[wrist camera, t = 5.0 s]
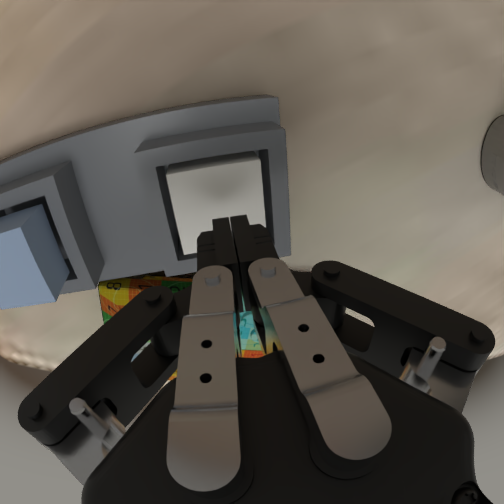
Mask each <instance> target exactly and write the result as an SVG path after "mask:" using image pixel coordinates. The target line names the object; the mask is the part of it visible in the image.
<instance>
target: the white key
mask: <svg viewBox="0 0 504 504" xmlns="http://www.w3.org/2000/svg"><path fill="white" fill-rule="evenodd" d="M166 177H167V182H168V187H169V192H170V196H171V201H172V205H173V210H174V214H175V219H176V223H177V227H178V232H179V236H180V240H181V244H182V248H183V252H184V255H186V254H192V253H197V238H198V236H199V235H200V233H201V232H205V231H212V230H213V224H212V219H217V218H224V217H229V222H230V217H231V216H238V215H245V214H246V215H247V218H248V221H249V224H250V225H254V224H261V225H263V226H264V227H265V228H266V221H265V209H264V196H263V184H262V173H261V161H260V159H259V157H258V156H257V155H256V153H255V152H254V151H247V152H239V153H232V154H225V155H219V156H213V157H206V158H200V159H195V160H189V161H183V162H178V163H173V164H169V166H168V170H167V173H166ZM230 227H231V224H230Z"/></svg>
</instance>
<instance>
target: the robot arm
mask: <svg viewBox="0 0 504 504" xmlns="http://www.w3.org/2000/svg"><path fill="white" fill-rule="evenodd" d="M482 172H483V176H484V179H485V181H486V183H487V184H488V185H489V186H490V187H491V188H493V189H494V190H496V191H497V192H499V193H501V194H502V195H504V116H501V117H499V118H497V119H496V120H495V121H494V122H493V124H492V125H491V127H490V128H489V130H488V132H487V135H486V138H485V141H484V145H483V150H482ZM212 224H213V230H212V231H205V232H201V233H200V235H199V236H198V238H197V272H196V274H195V275H194V277H193V281H192V284H191V285H190V286H188V287H187V288H185V289H183V290H180V291H178V292H175V293H173V292H172V291H171V289H169V288H168V287H165V286H152V287H149V288H146V289H144V290H143V291H141V292H140V293H139V294H138V295H136V296H135V297H134V298H133V299H132V300H131V301H130V302H128V303H127V304H126V305H125V306H124V307H123V308H122V309H120V310H119V311H118V312H117V313H116V314H115V315H114V316H113V317H111V318H110V319H109V320H108V321H107V322H106V323H105V324H104V325H102V326H101V327H100V328H99V329H98V330H97V331H96V332H95V333H94V334H92V335H91V336H90V337H89V338H88V339H87V340H86V341H85V342H84V343H83V344H82V345H80V346H79V347H78V348H77V349H76V350H75V351H74V352H73V353H72V354H71V355H70V356H69V357H67V358H66V359H65V360H64V361H63V362H62V363H61V364H60V365H59V366H58V367H57V368H56V369H55V370H54V371H53V372H52V373H50V374H49V375H48V376H47V377H46V378H45V379H44V380H43V381H42V382H41V383H40V384H39V385H38V386H37V387H36V388H35V389H34V390H33V391H32V392H31V393H30V394H29V395H28V396H27V397H26V398H25V399H24V400H23V401H22V403H21V404H20V407H19V410H18V420H19V423H20V425H21V426H22V427H23V428H24V429H25V430H26V431H27V432H28V433H30V434H31V435H32V436H33V437H35V438H36V439H37V441H38V442H39V443H41V444H42V445H43V446H44V447H46V448H47V449H48V450H50V451H51V452H53V453H54V454H55V455H56V456H57V458H58V459H59V460H60V461H61V462H62V463H63V464H64V465H65V467H66V468H67V469H68V470H69V471H70V472H71V473H72V474H73V475H74V476H75V477H76V478H77V479H78V480H79V482H80V483H81V484H82V485H84V488H83V491H82V504H493V503H492V502H491V501H490V500H489V499H488V498H487V497H486V496H485V495H484V494H483V493H482V491H481V490H480V489H479V487H478V484H477V481H476V476H475V469H474V437H473V432H472V429H471V426H470V424H469V422H468V421H467V420H466V418H465V417H464V416H463V415H462V411H463V408H464V406H465V403H466V401H467V397H468V395H469V392H470V389H471V386H472V383H473V380H474V377H475V375H476V373H477V372H478V371H479V369H480V368H481V366H482V365H483V363H484V362H485V361H486V359H487V358H488V356H489V355H490V353H491V352H492V350H493V348H494V346H495V337H494V335H493V333H492V331H491V330H490V329H489V328H488V327H487V326H486V325H484V324H483V323H481V322H479V321H476V320H474V319H472V318H470V317H467V316H465V315H463V314H461V313H458V312H456V311H454V310H452V309H449V308H447V307H445V306H442V305H440V304H438V303H436V302H433V301H431V300H429V299H426V298H424V297H422V296H419V295H417V294H415V293H412V292H410V291H408V290H405V289H403V288H401V287H398V286H396V285H394V284H391V283H389V282H386V281H384V280H382V279H379V278H377V277H374V276H372V275H370V274H367V273H365V272H362V271H360V270H358V269H355V268H353V267H350V266H348V265H345V264H343V263H340V262H337V261H322V262H319V263H317V264H316V265H315V266H314V267H313V268H312V272H298V271H293V270H290V269H289V268H288V266H287V264H286V263H285V262H284V261H282V260H280V259H279V257H278V254H277V252H276V249H275V247H274V244H273V242H272V239H271V237H270V235H269V232H268V230H267V228H265V227H264V226H263V225H261V224H254V225H250V224H249V221H248V218H247V215H246V214H245V215H238V216H231V217H230V222H229V217H224V218H217V219H212ZM230 224H231V227H230ZM241 291H242V292H241ZM242 296H243V301H244V306H245V311H246V312H247V311H252V315H253V324H254V329H255V332H256V335H257V338H258V341H259V344H260V347H261V350H262V353H263V355H264V356H262V357H259V358H245V357H242V347H241V334H240V321H241V320H240V313H242V312H244V309H243V301H242ZM346 307H347V308H349V309H351V310H353V311H355V312H357V313H359V314H362V315H364V316H366V317H368V318H369V319H371V320H372V322H373V323H374V326H375V327H373V326H371V325H369V324H367V323H365V322H363V321H361V320H358V319H356V318H354V317H352V316H350V315H348V314H346V313H345V311H346ZM149 340H150V342H151V343H150V344H149V345H148V346H147V347H146V348H145V349H144V350H143V351H142V352H141V353H140V354H139V355H138V356H137V357H136V358H135V359H134V360H133V361H132V358H133V356H134V355H135V354H136V353H137V352H138V351H139V350H140V349H141V348H142V347H143V346H144V345H145V344H146V343H147V342H148V341H149ZM131 361H132V362H131ZM176 370H177V377H176V378H174V379H173V380H171V381H170V382H169V383H167V384H166V385H165V386H164V387H163V388H162V389H161V390H160V392H159V393H158V394H157V395H156V396H155V398H154V399H153V400H152V401H151V402H150V404H149V405H148V406H147V408H146V409H145V410H144V411H143V412H142V413H141V415H140V416H139V417H138V418H137V420H136V421H135V422H134V423H133V424H132V425H131V427H130V428H129V429H128V430H127V431H126V430H125V427H126V426H127V425H128V424H129V423H130V422H131V421H132V420H133V419H134V417H135V416H136V415H137V414H138V413H139V412H140V410H142V408H143V407H144V406H145V405H146V404H147V403H148V402H149V400H150V399H151V398H152V397H153V396H154V395H155V394H156V393H157V392H158V390H159V389H160V388H161V387H162V386H163V385H164V384H165V383H166V381H167V380H168V379H169V378H170V377H171V376H172V375H173V373H174V372H175V371H176Z"/></svg>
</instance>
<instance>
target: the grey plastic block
mask: <svg viewBox="0 0 504 504" xmlns="http://www.w3.org/2000/svg"><path fill="white" fill-rule="evenodd" d="M247 151H254V152H255V153H256V155H257V156H258V157H259V159H260V161H261V173H262V184H263V196H264V209H265V221H266V228H267V230H268V232H269V235H270V237H271V239H272V242H273V244H274V247H275V249H276V252H277V254H278V257H284V256H290V255H291V242H290V212H289V189H288V168H287V150H286V134H285V129H284V128H283V127H281V126H280V116H279V102H278V97H275V96H271V95H257V96H246V97H237V98H229V99H221V100H214V101H207V102H201V103H194V104H189V105H183V106H177V107H172V108H167V109H162V110H157V111H153V112H148V113H144V114H139V115H135V116H131V117H127V118H123V119H119V120H115V121H112V122H108V123H104V124H101V125H97V126H94V127H91V128H87V129H84V130H81V131H78V132H75V133H72V134H69V135H66V136H63V137H60V138H57V139H54V140H51V141H49V142H46V143H43V144H41V145H38V146H35V147H33V148H30V149H28V150H25V151H23V152H20V153H18V154H16V155H13V156H11V157H9V158H6V159H4V160H2V161H0V217H3V216H6V215H9V214H12V213H14V212H17V211H21V210H24V209H27V208H30V207H33V206H36V205H39V204H42V205H43V208H44V210H45V213H46V216H47V219H48V221H49V224H50V227H51V229H52V232H53V234H54V237H55V239H56V242H57V244H58V246H59V249H60V251H61V254H62V256H63V258H64V260H65V263H66V265H67V267H68V269H69V272H70V273H69V275H68V277H67V279H66V281H65V283H64V285H63V287H62V290H61V292H60V294H66V293H72V292H78V291H84V290H91V289H96V287H97V284H98V282H99V281H105V280H111V279H117V278H123V277H129V276H134V275H140V274H146V273H152V272H158V271H164V272H165V275H166V277H169V276H175V275H181V274H187V273H193V272H197V253H192V254H186V255H184V252H183V248H182V244H181V240H180V236H179V232H178V227H177V223H176V219H175V214H174V210H173V205H172V201H171V196H170V192H169V187H168V182H167V177H166V173H167V170H168V166H169V164H173V163H178V162H183V161H189V160H195V159H200V158H206V157H213V156H219V155H225V154H232V153H239V152H247Z"/></svg>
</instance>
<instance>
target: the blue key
mask: <svg viewBox="0 0 504 504" xmlns="http://www.w3.org/2000/svg"><path fill="white" fill-rule="evenodd" d="M69 273H70V272H69V269H68V267H67V265H66V263H65V260H64V258H63V256H62V254H61V251H60V249H59V246H58V244H57V242H56V239H55V237H54V234H53V232H52V229H51V227H50V224H49V221H48V219H47V216H46V213H45V210H44V208H43V205H42V204H39V205H36V206H33V207H30V208H27V209H24V210H21V211H17V212H14V213H12V214H9V215H6V216H3V217H0V308H1V309H9V308H16V307H23V306H30V305H37V304H44V303H51V302H56V301H57V298H58V296H59V294H60V292H61V290H62V287H63V285H64V283H65V281H66V279H67V277H68V275H69Z"/></svg>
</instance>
